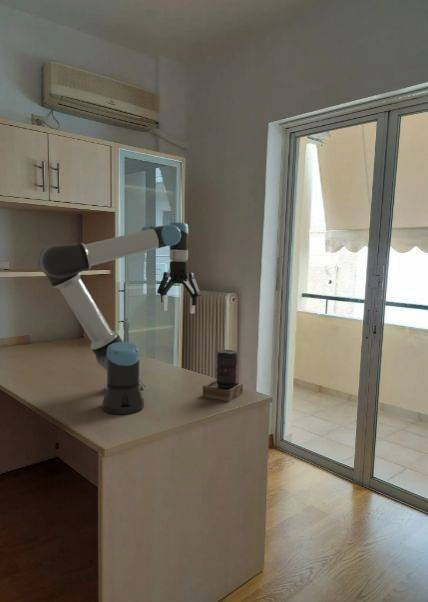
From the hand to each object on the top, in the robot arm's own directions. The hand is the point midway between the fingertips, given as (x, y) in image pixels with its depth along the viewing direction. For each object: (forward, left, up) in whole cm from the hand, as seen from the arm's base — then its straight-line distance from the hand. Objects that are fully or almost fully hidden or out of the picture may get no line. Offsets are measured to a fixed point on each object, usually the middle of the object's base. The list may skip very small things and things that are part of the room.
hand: (178, 312), depth 185 cm
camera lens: (+3, -22, -30) cm, 37 cm away
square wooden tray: (+3, -20, -33) cm, 38 cm away
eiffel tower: (-12, +18, -33) cm, 39 cm away
